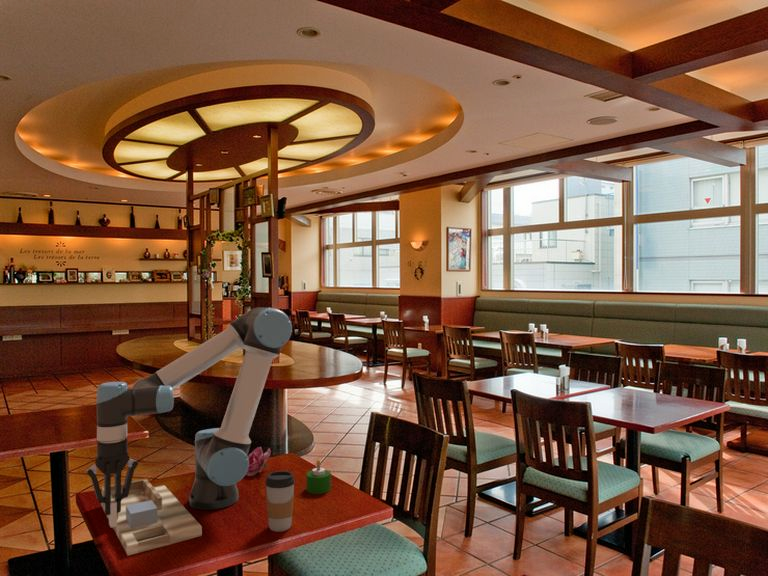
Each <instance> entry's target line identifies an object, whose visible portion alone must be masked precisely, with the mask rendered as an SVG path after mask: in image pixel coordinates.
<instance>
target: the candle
mask: <svg viewBox="0 0 768 576" xmlns="http://www.w3.org/2000/svg"><path fill="white" fill-rule="evenodd" d="M321 463H322V462H321V460H319V459H318V460H317V461H316V467H315V468H312V469H311V470H309V471H307V472H306V474H305V475H306V477H305V478H306V482H305V483H306V484H305V485H306V486H305V489H306V492H307V493H309V494H312V495H323V494H327V493H329V492H330V491H331V489H332V488H331V487H332V484H331V483H332V475H331V474H332V473H331V471H330V470H328V469H325V468H324V467H321V465H322V464H321Z"/></svg>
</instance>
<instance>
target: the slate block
mask: <svg viewBox="0 0 768 576" xmlns="http://www.w3.org/2000/svg"><path fill="white" fill-rule="evenodd" d="M126 521H127V522H128V524H129V526H130V528H135V527H139V526H143V525H148V524H152V523H156V522H158V508H157V506H156V505H155V504H154V502H153V501H152V500H150V501H145V502H140V503H136V504H131V505H126Z"/></svg>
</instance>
